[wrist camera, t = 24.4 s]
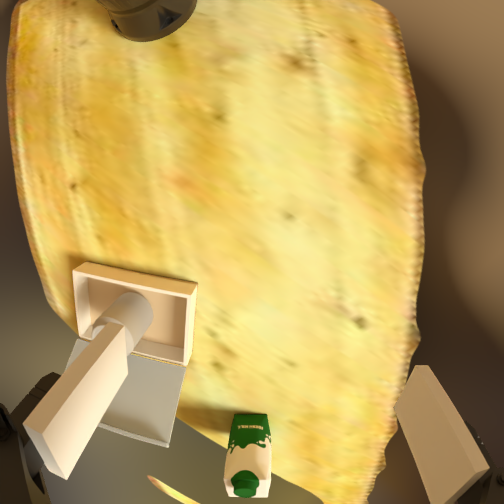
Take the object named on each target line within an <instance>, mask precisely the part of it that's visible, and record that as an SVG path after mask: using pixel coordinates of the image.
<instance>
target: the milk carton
mask: <svg viewBox="0 0 504 504" xmlns="http://www.w3.org/2000/svg"><path fill="white" fill-rule="evenodd" d="M224 482H225V486H226V491H227V492H228V495H229V496H231V497H245V498H247V497H248V498H249V497H268V491H269V487H270V482H271V434H270V429H269V424H268V418H267V414H235V415H234V419H233V423H232V427H231V431H230V436H229V443H228V450H227V457H226V464H225V473H224Z"/></svg>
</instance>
